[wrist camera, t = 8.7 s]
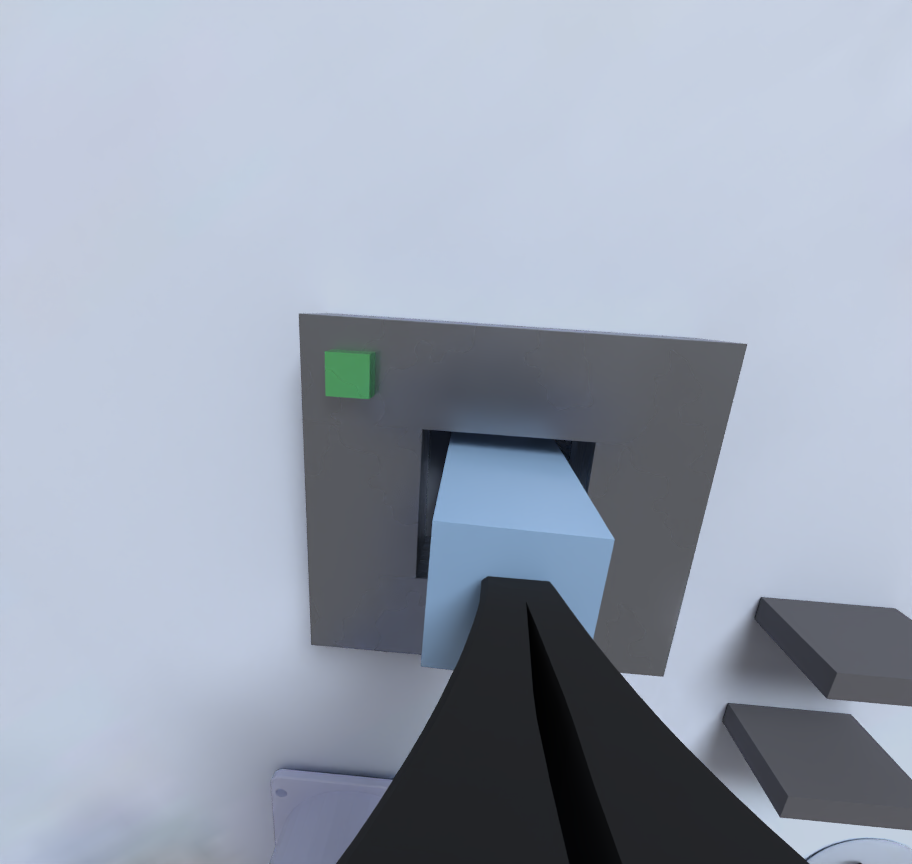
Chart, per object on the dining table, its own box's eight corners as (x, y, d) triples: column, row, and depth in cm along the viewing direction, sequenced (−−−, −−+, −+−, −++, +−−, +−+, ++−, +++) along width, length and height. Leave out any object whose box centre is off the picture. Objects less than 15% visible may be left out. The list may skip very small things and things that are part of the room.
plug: (538, 525, 16) (583, 684, 9) (445, 515, 16) (420, 666, 9) (551, 435, 15) (614, 539, 8) (452, 426, 15) (432, 520, 8)
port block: (635, 621, 17) (671, 691, 14) (335, 595, 17) (304, 658, 14) (697, 338, 14) (762, 345, 10) (330, 313, 14) (289, 313, 11)
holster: (843, 732, 18) (930, 832, 14) (722, 721, 18) (779, 817, 14) (895, 608, 16) (1008, 687, 13) (761, 597, 16) (837, 672, 13)
